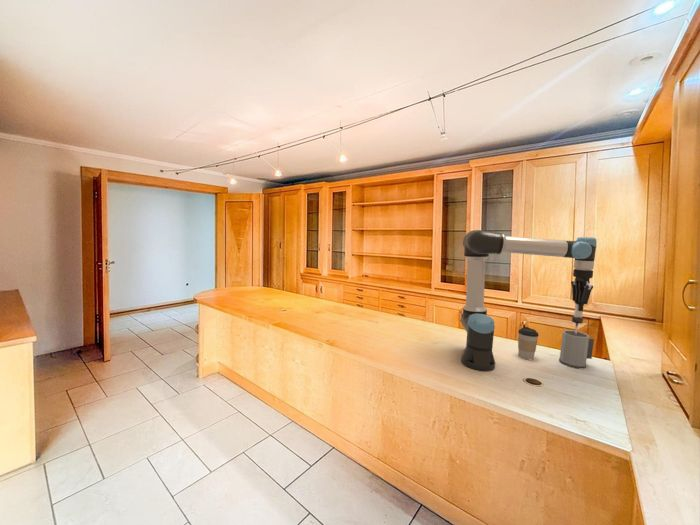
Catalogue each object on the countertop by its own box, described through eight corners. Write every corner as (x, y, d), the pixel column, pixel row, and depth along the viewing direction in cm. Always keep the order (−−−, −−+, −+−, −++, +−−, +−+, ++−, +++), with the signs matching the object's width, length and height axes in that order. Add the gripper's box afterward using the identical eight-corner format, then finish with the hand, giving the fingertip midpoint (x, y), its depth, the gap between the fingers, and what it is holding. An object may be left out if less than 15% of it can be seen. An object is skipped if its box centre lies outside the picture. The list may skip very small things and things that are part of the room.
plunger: (570, 349, 144) (574, 319, 142) (562, 343, 151) (565, 314, 150) (586, 350, 143) (590, 320, 142) (577, 345, 150) (580, 315, 149)
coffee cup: (539, 361, 149) (542, 332, 148) (519, 359, 151) (522, 330, 149) (531, 354, 158) (534, 327, 157) (513, 352, 160) (516, 325, 158)
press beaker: (566, 367, 143) (570, 336, 142) (554, 358, 154) (557, 329, 152) (597, 370, 142) (601, 338, 140) (582, 360, 152) (586, 331, 151)
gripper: (601, 271, 136) (595, 321, 139) (583, 267, 149) (577, 313, 151) (583, 270, 137) (578, 320, 140) (566, 267, 150) (562, 312, 152)
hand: (578, 316), depth 146 cm, fingers closed
